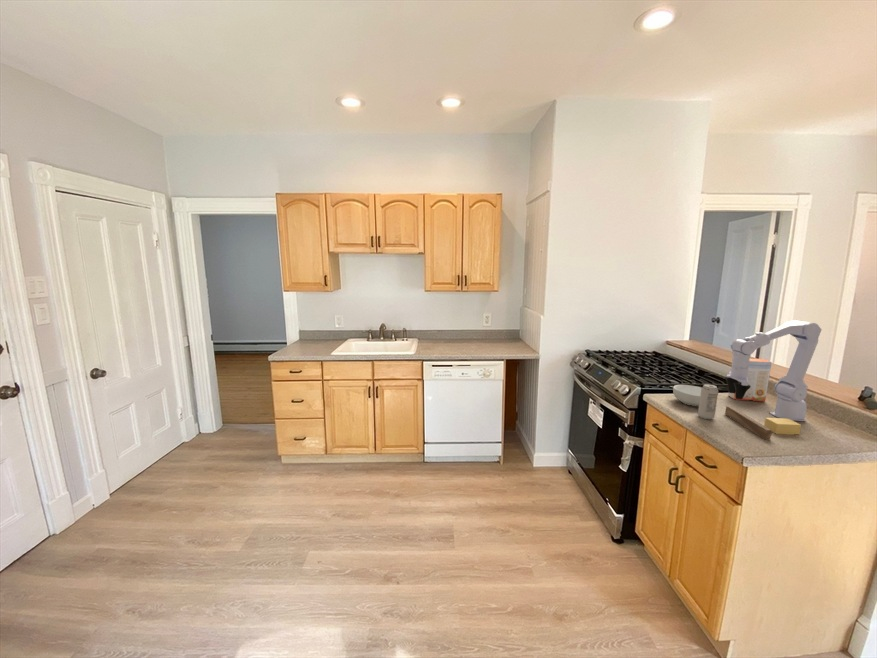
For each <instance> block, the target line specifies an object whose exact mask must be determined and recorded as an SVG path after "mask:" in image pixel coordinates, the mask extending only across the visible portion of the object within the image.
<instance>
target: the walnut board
mask: <svg viewBox="0 0 877 658" xmlns="http://www.w3.org/2000/svg"><path fill="white" fill-rule="evenodd" d="M725 414H726V416H728V417H729V418H730V417H731V418H730V419H732V420H733V419H734V420H733V421H735V422H736V421H737V423H738V422H739V423H738V424H740V425H741V426H743V427H744V426H745V427H744V428H746V429H747V428H748V429H747V430H749V431H751V432H752V433H753V434H756V435H757V436H758V435H759V437H760V436H761V437H760V438H762V439H763V438H764V440H768V439H770V440H771V436H772V433H773V432H772V430H771V429H769V428H767V427H765V426H764V424H762V423H760V422H759V421H757V420H755V419H753V418H751V416H748V415H747V414H745V413H743V412H741V411H740V410H738V409H736V408H735V407H733V406H731V405H730V406H729V405H726V406H725V411H724V415H725Z"/></svg>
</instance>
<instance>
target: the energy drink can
mask: <svg viewBox="0 0 877 658" xmlns="http://www.w3.org/2000/svg"><path fill="white" fill-rule="evenodd" d="M718 395H719V390H718V387H717V385H714V384H708V383H705V384H703V386H702V387H701V395H700V402H699V406H698V409H697V410H698V411H697V415H698V417H699V416H700V417H701V418H700V417H699V418H700V419H702V418H704V419H703V420H706V419H712V420H713V419H714V418H715V417H716V416H715V415H716V409H717V408H716V407H717V401H718Z"/></svg>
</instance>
